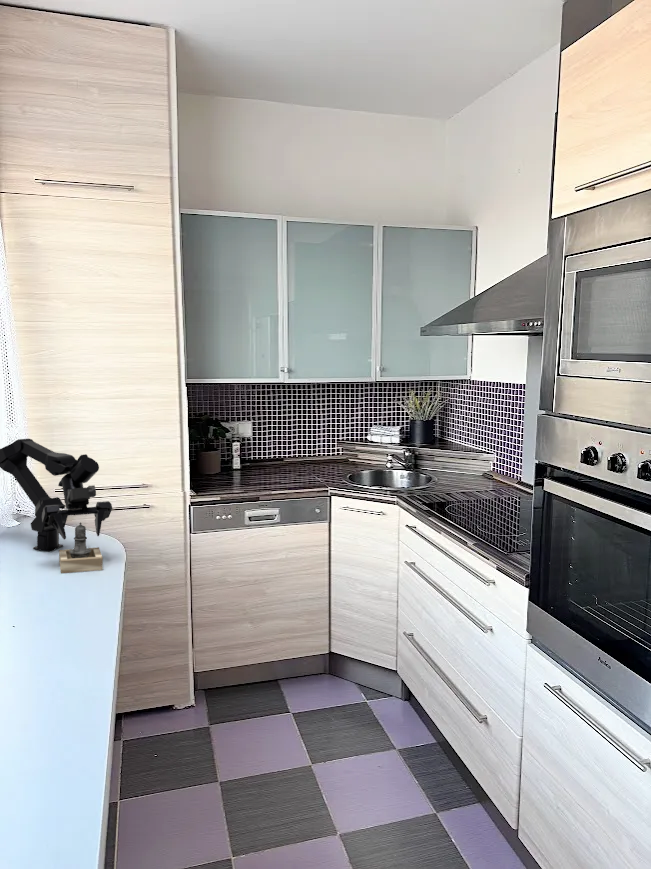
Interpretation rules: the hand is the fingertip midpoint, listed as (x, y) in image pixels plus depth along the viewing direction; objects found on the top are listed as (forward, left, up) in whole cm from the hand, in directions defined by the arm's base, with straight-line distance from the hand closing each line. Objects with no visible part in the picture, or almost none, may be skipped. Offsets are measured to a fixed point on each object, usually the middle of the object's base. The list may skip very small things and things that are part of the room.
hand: (82, 537), depth 188 cm
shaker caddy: (-1, -1, -9) cm, 9 cm away
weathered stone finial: (-1, -1, -8) cm, 8 cm away
